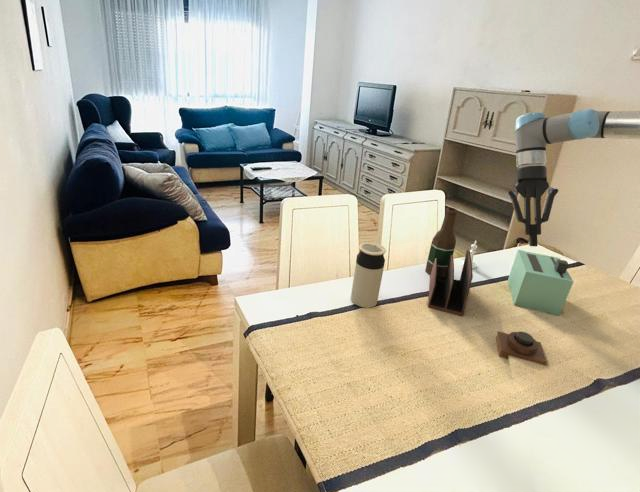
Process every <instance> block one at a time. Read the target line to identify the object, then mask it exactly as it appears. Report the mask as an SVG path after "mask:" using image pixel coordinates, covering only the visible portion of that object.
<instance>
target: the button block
mask: <svg viewBox="0 0 640 492" xmlns="http://www.w3.org/2000/svg"><path fill="white" fill-rule="evenodd" d="M517 332H518V331H511V332H510V333H506V332H503V331H499V330H498V331H497V332H496V335H495V341H496V347H497V354H498V357H499V358H502V359H506V360H509V359H510V358H509V357H513V358H517V359H520V360H524V361H527V362H532V363H535V364H539V365H542V366H547V364H548V360H547V358H546V355H545V352H544V349H543V345H542V343H541V342H540V341H538V340H536V339H535V338H533V341H532V344H531V346H525V345H522V344H520V343H518V342H517V341H516V340H515V337H516V334H517Z"/></svg>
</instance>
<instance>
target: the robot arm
mask: <svg viewBox="0 0 640 492" xmlns="http://www.w3.org/2000/svg"><path fill="white" fill-rule="evenodd" d="M514 128H515V130H514V134H515V166H516V168H517V169H516V183H515V184H514V185H515V186H514V188H512V189H511V190H508V191H507V192H506V195H507V197H508V198H509V199H510V201H511V205H512V207H513V210H514V211H513V212H514V214H515V217H516V221H517V222H518V223H522V224H523V225H524V235H526V236H528V242H529V244H528V245H529V247H538V236H540V235H542V224H543V223H546V222H548V221H549V220H550V215H551V212H552V208H553V204H554V200H555V197H556V195H557V194H558V193H559V189H558V188H555V187H552V186H550V183H549V182H548V179H547V178H548V171H547V169H548V168H547V167H546V166H545V165H546V164H547V145H552V144H557V143H565V142H570V141H576V140H580V141H581V140H584V139H619V140H620V139H622V140H640V110H611V111H609V110H607V111H606V110H595V109H593V108H588V109H581V110H576V111H573V112H568V113H563V114H558V115H556V116H551V117H549V116H548V117H546V114H545V113H543V112H530V113H525V114H521V115H520V116H518V117H517V118H516V119H515V127H514ZM545 193H546V194H547V197H546V200H545V204H544V207H543V212H542V203H541V202H542V196H543V195H544V194H545ZM518 194H519V195H520V196H521V197H522V198H523V199H522V200H523V213H522V211H521V210H522V209H521V206H520V203H519V199H518V197H517V195H518ZM531 200H533V216H534V217H533V218H534V219H533V221H534V223H532V213H531V212H532V211H531V209H532V208H531Z"/></svg>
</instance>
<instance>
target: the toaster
mask: <svg viewBox="0 0 640 492" xmlns="http://www.w3.org/2000/svg"><path fill="white" fill-rule="evenodd" d="M557 259H558V260H562V259H561V257H556V256H553V255H552V256H551V255H547V254H541V253H536V252H530V251H525V250H520V249H517V251H516V254H515V258H514V260H513V264H512V266H511V270H510V273H509V275H508V279H507V283H508V287H509V291H510V294H511V299H512V302H513V306H516V307H519V308H520V307H521V308H524V309H527V310H532V311H536V312H541V313H546V314H550V315H552V316H553V315H554V316H558V317H560V316H561V313H562V311H563V308H564V306H565V304H566V301H567V299H568V296H569V294H570V292H571V289H572V286H573V284H574V280H573V278H572V276H571V275H570V273H569V272H568V269H567V270H566V273H561V272H556V271H555V269H554V267H555V264H556V262H557Z"/></svg>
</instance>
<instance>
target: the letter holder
mask: <svg viewBox="0 0 640 492" xmlns="http://www.w3.org/2000/svg"><path fill="white" fill-rule="evenodd" d="M470 254H471V252H470V249H467V250H466V252H465V256H464V260H463V261H464V265H462V270H461V273H460V278H459V279H455V262H454V254H453V255H452V254H451V256H450V260H449V264H448V268H447V272H446V276H445V277H441V276H437V258H435V261H434V264H433V268H432V271H431V275H429V285H428V297H427V307H428V308H430V309H433V310H436V311H441V312H444V313H449V314H452V315H457V316H461V317H464V315H465V312H466V307H467V303H468V300H469V295H470V290H471V286H472V281H473V277H474V276H473V268H472V261H471V255H470Z"/></svg>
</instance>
